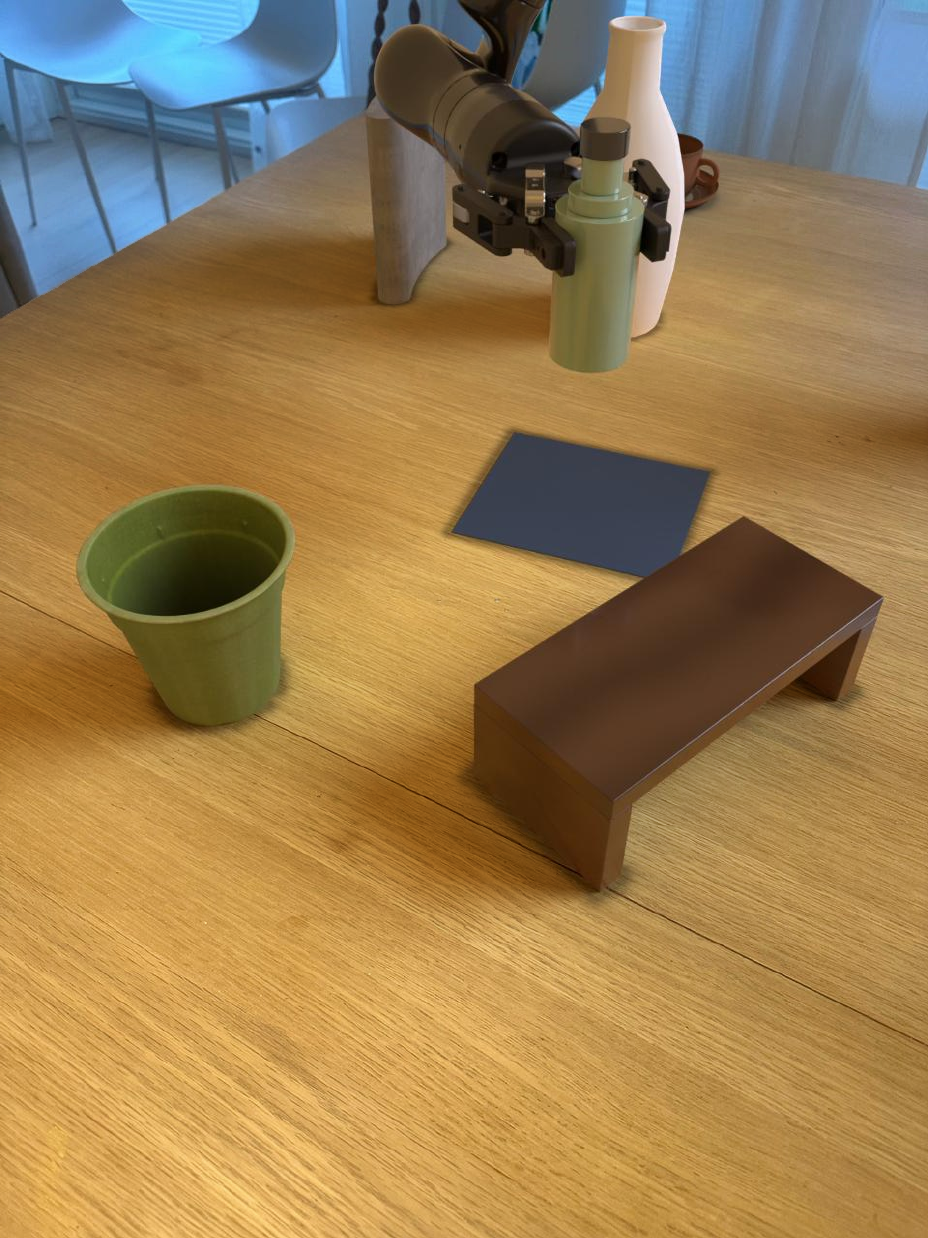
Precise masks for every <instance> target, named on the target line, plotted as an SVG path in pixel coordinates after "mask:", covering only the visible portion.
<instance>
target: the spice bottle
mask: <svg viewBox="0 0 928 1238" xmlns="http://www.w3.org/2000/svg"><path fill="white" fill-rule="evenodd" d="M579 127H580V140H579V153H580V155H581V156H582V166H581V179H580V180H577V181H574V182H573V183H571V184H570V185H569V187H568V194H567V195H564V196H562V197H561V198H560V199H558V200H557V202H556V204H555V221H556V222H557V223H558V224H559V225H560V226H561V227H562V228H563V229H564V230H565V231H566V232H567V233H568V234H569V235H570V236H571V237H572V238H573V239H574V241H575V244H576V257H575V272H574V275H573V276H567V277H560V276H559V275H558V274H557V273H556V272H555V271H551V290H550V291H551V292H550V311H549V312H550V314H549V336H548V337H549V339H548V355H549V358H550V359H551V361H552V362H553V363H555V364H556V365H557V366H559V367H561V368H563V369H566V370H569V371H572V372H576V373H583V374H601V373H606V372H611V371H614V370H616V369H619V368H620V367H622V366H624V365H625V364H626V363H627V362H628V360H629V359H630V353H631V344H632V338H631V336H632V326H633V316H634V306H635V296H636V287H637V277H638V267H639V257H640V247H641V238H642V228H643V218H644V208H645V207H644V204H643V203H642V202H641V201H640V200H639V199H638V198H636V197H634V188H633V187H632V185H631V184H629V183H627V182H625V181H623V171H624V159H625V157H626V156H627V155H628V153H629V143H630V131H631V125H630V123H629V122H627V121H625V120H623V119H619V118H613V117H596V118H590V119H587V120H585V121H582V122H581V123H580V125H579Z"/></svg>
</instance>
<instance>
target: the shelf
mask: <svg viewBox="0 0 928 1238" xmlns="http://www.w3.org/2000/svg"><path fill="white" fill-rule="evenodd" d="M884 599H885V597H884V596H883V595H881V594H880V593H877V592H876V591H874V590H873V589H871V588H869V587H867V586H866V585H864V584H862V583H860V582H858V581H857V580H856V579H854V578H851V577H850V576H848V575H847V574H845V573H844V572H842V571H840V570H839V569H836V568H834V567H833V566H831V565H829V564H828V563H826V562H825V561H823V560H821V559H819V558H818V557H816V556H814V555H812V554H811V553H810V552H807V551H805V550H804V549H802V548H801V547H798V546H797V545H795V544H794V543H792V542H791V541H788V540H786V539H785V538H783V537H781V536H780V535H777V534H776V533H775V532H772V531H771V530H769V529H767V528H766V527H764V526H762V525H761V524H759V523H757V522H755V521H754V520H752V519H750V518H749V517H747V516H745V515H743V516H741V517H739V518H737V519H736V520H734V521H733V522H731V523H730V524H728V525H727V526H725V527H723V528H722V529H720V530H719V531H717V532H716V533H714V534H712V535H711V536H709V537H708V538H706V539H704V540H703V541H701V542H699V543H698V544H696V545H695V546H693V547H691V548H689V549H687V550H686V551H685V552H683V553H682V554H680V556H679V557H677V558H675V559H674V560H672V561H671V562H669V563H667V564H666V565H664V566H663V567H661V568H659V569H658V570H656V571H655V572H653V573H651V574H650V575H648V576H647V577H645V578H643V577H642V579H640V580H638V581H637V582H636V583H634V584H632V585H630V586H629V587H627V588H626V589H624V590H623V591H621V592H619V593H617V594H616V595H615V596H613V597H611V598H610V599H609V600H606V601H605V602H603V603H602V604H600V605H598V606H597V607H596V608H594V609H592V610H591V611H589V612H587V613H586V614H584V615H582V616H581V617H579V618H578V619H576V620H574V621H573V622H571V623H569V624H568V625H567V626H565V627H563V628H562V629H560V630H559V631H557V632H555V633H554V634H552V635H551V636H549V637H548V638H546V639H544V640H542V641H541V642H539V643H537V644H536V645H534V646H533V647H531V648H530V649H528V650H527V651H525V652H523V653H522V654H520V655H519V656H516V657H515V658H514V659H512V660H511V661H509V662H507V663H506V664H504V665H502V666H501V667H499V668H498V669H496V670H494V671H493V672H491V673H490V674H487V676H485V677H483V678H482V679H480V680H478V681H477V682H475V683H474V684H473V777H474V779H476V780H477V781H478V782H479V783H480V784H481V785H483V786H484V788H486V790H488V791H489V792H490V793H491V794H493V796H495V798H496V799H498V800H499V801H500V803H502V805H504V806H505V807H506V808H507V809H508V810H510V812H512V814H514V815H515V816H516V817H517V818H518V819H519V820H521V822H523V824H525V825H526V826H527V827H528V828H529V829H530V830H531V831H532V832H533V833H535V834H536V835H537V836H538V837H539V838H540V839H541V840H542V841H543V842H544V843H545V844H546V845H547V846H548V847H550V848H551V849H552V850H553V851H554V852H555V853H556V854H557V855H559V857H560V858H562V859H563V860H564V861H565V862H566V863H567V864H568V865H569V866H570V867H571V868H573V869H574V871H576V872H577V873H578V874H579V875H580V876H581V877H582V878H583V879H585V881H587V882H588V884H590V885H591V886H592V887H593V888H594V889H595V890H596V891H597V892H598V893H601V892H603V891H604V890H606V889H607V888H608V887H609V886H610V885H612V884H613V883H615V881H617V880H618V879H619V878H620V877H621V876H622V873H623V866H624V860H625V854H626V848H627V842H628V836H629V830H630V825H631V818H632V811H633V807H634V803H636V802H637V801H638V800H640V799H641V798H642V797H644V796H645V795H646V794H648V793H649V792H650V791H652V790H653V789H654V788H656V787H657V786H658V785H660V784H661V783H662V782H663V781H664V780H665V779H668V777H669V776H671V775H672V774H673V773H675V772H676V771H677V770H679V769H680V768H681V767H683V766H684V765H685V764H687V763H688V762H689V761H691V760H692V759H693V758H694V757H696V756H697V755H698V754H699V753H701V752H702V751H704V750H705V749H706V748H707V747H709V746H711V744H712V743H714V742H716V740H718V739H719V738H721V737H722V736H723V735H724V734H726V733H727V732H728V731H730V730H731V729H732V728H734V727H735V726H736V725H738V724H739V723H740V722H741V721H742V720H744V719H745V718H747V717H749V715H751V714H752V713H754V711H756V710H757V709H758V708H760V707H761V706H763V704H765V703H767V702H768V701H769V700H770V699H772V698H773V697H774V696H776V694H778V693H779V692H781V691H782V690H784V689H785V688H786V687H787V686H788V685H790V684H791V683H792V682H794V681H795V680H796V679H798V678H800V679H802V680H803V681H804V682H806V683H808V684H809V685H811V686H812V687H814V688H815V689H817V691H820V692H821V693H823V694H824V695H826V696H827V697H828V698H830V699H831V700H833V701H835V702H838V701H840V700H841V699H842V698H843V697H845V696H846V695H847V694H848V693H849V692H851V691H852V689H853V688H854V684H855V681H856V679H857V677H858V676H857V675H858V673H859V670H860V668H861V665H862V661H863V659H864V656H865V654H866V650H867V647H868V645H869V642H870V639H871V636H872V634H873V630H874V628H875V625H876V622H877V620H878V616H879V613H880V610H881V607H882V605H883V602H884Z"/></svg>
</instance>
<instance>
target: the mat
mask: <svg viewBox="0 0 928 1238" xmlns="http://www.w3.org/2000/svg"><path fill="white" fill-rule="evenodd" d="M710 474H711V471H709V470H704V469H700V468H694V467H689V466H684V465H680V464H675V463H670V462H665V461H660V460H655V459H649V458H645V457H640V456H636V455H631V454H626V453H620V452H615V451H611V450H606V449H600V448H597V447H596V448H595V447H590V446H587V445H581V444H576V443H571V442H566V441H561V440H557V439H553V438H547V437H542V436H537V435H532V434H527V433H521V432H517V431H514V432H513V434H512V435H511V437H510V438H509V440H508V442H507V444H506V445H505V446H504V448H503V450H502V451H501V453H500V455H499V456H498V458H497V459H496V461H495V463H494V464H493V466H492V467H491V469H490V471H488V474H487V476H486V477H485V478H484V480H483V481H482V483H481V485H479V488H478V489H477V491H476V492H475V494H474V496H473V497H472V498H471V501H470V502H469V504H468V505H467V507H466V509H465V510H464V512H463V513H462V515H461V517H460V518H459V520H458V521H457V523H456V525H454V528H453V529H452V531H451V533H452V534H455V535H459V536H463V537H468V538H473V539H477V540H481V541H484V542H485V541H486V542H490V543H495V544H498V545H503V546H507V547H511V548H515V549H519V550H524V551H527V552H533V553H536V554H541V555H545V556H550V557H554V558H559V559H562V560H567V561H571V562H576V563H580V564H583V565H589V566H592V567H597V568H601V569H605V570H610V571H613V572H617V573H622V574H626V575H631V576H634V577H640V578H642V579H643V578H645V577H647V576H648V575H650V574H651V573H653V572H655V571H656V570H658V569H659V568H661V567H663V566H664V565H666V564H667V563H669V562H671V561H672V560H674V559H675V558H677V557H679V556H680V555H682V554H681V553H682V551H683V549H684V546H685V544H686V543H685V542H686V541H687V537H688V535H689V532H690V530H691V527H692V524H693V521H694V518H695V516H696V512H697V511H698V507H699V505H700V502H701V500H702V498H703V497H702V496H703V494H704V491H705V488H706V485H707V483H708V480H709V477H710V476H711V475H710Z"/></svg>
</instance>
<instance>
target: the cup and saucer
mask: <svg viewBox="0 0 928 1238" xmlns="http://www.w3.org/2000/svg"><path fill="white" fill-rule="evenodd" d="M677 136H678V140H679V146H680V153H681V159H682V165H683V171H684V205H685V209H684V210H687V209H692V208H696V207H698V206H701V205H703V204H705V203H708V201H710V200H711V199H712V198H714V197H715V196H716V194H717V193H718V191H719V187H720V184H719V179H720V176H721V175H720V168H719V166H718V164H717V163H716V162H715V161H714V160H713V159H710V158H706V157H703V152H704V143H703V141H702V140H700V139H699V138H697V137H695V136H692V135H689V134H686V133H679V132H677ZM702 166H708V167H709V168H711V169H712V172H713V174H711V173H710V172H707V171H705V170H703V169H701V167H702ZM690 194H692V199H691V200H689V201H686V200H687V199H688V196H689V195H690Z"/></svg>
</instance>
